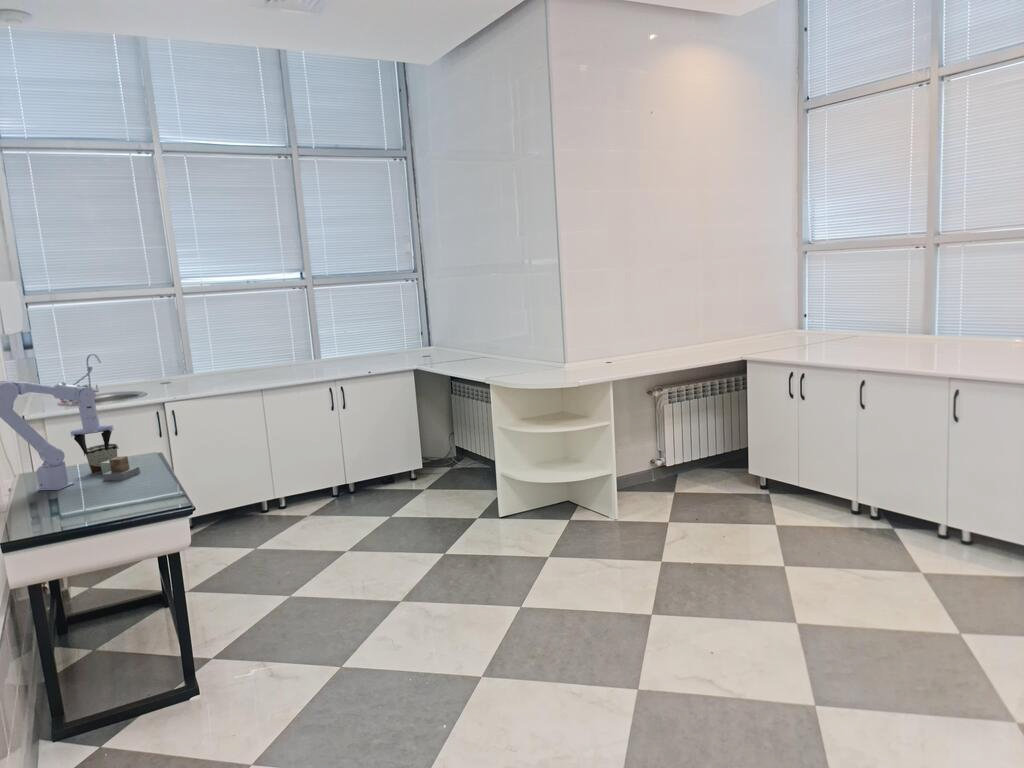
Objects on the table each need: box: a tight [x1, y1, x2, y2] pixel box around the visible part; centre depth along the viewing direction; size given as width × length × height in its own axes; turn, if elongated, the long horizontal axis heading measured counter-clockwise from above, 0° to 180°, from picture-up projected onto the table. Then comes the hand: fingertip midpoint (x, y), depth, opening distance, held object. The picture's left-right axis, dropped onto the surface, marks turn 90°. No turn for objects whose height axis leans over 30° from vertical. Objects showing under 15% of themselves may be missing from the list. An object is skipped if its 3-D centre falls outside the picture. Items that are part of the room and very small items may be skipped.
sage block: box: [100, 460, 111, 474], centre depth 285 cm, size 4×4×5 cm
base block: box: [101, 466, 141, 481], centre depth 279 cm, size 9×9×3 cm
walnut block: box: [109, 455, 130, 473], centre depth 278 cm, size 4×4×5 cm
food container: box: [83, 443, 119, 475], centre depth 291 cm, size 12×6×10 cm, turn 130°
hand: (96, 451), depth 280 cm, fingers open, 7 cm apart
